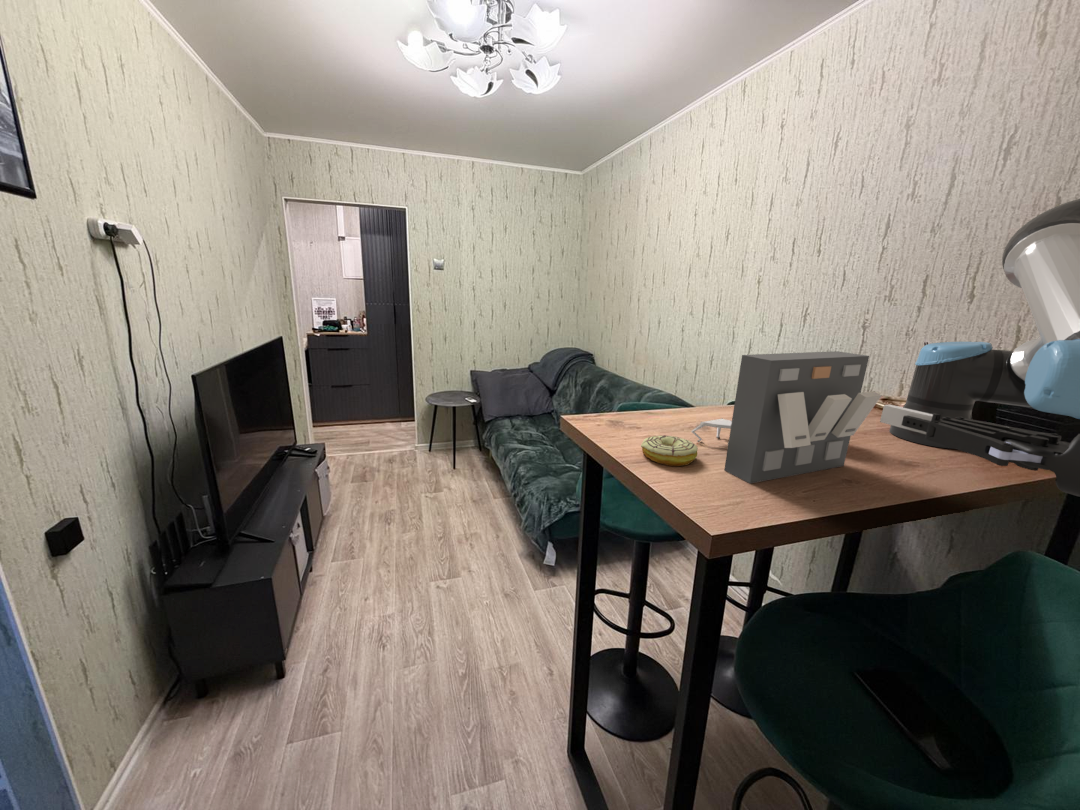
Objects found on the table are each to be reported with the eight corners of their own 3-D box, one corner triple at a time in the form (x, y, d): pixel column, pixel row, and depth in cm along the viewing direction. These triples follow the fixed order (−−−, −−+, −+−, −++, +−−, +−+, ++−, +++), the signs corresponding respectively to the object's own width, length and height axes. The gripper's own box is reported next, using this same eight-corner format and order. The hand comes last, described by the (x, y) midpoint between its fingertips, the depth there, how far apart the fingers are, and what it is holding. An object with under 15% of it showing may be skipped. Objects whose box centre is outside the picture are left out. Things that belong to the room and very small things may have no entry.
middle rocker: (825, 440, 78) (852, 399, 73) (808, 442, 77) (835, 400, 72) (818, 434, 79) (844, 394, 74) (801, 437, 78) (827, 395, 73)
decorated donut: (663, 445, 95) (665, 429, 94) (706, 461, 86) (709, 444, 85) (630, 454, 89) (632, 437, 88) (673, 472, 80) (675, 453, 79)
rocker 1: (811, 445, 72) (804, 391, 73) (793, 447, 71) (785, 393, 71) (803, 445, 74) (796, 392, 74) (784, 447, 72) (777, 394, 73)
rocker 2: (854, 435, 81) (882, 396, 76) (838, 438, 80) (866, 397, 75) (846, 430, 82) (874, 391, 77) (831, 432, 81) (858, 392, 76)
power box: (845, 466, 85) (871, 356, 80) (751, 484, 76) (773, 360, 70) (815, 455, 91) (837, 351, 85) (724, 470, 82) (742, 355, 76)
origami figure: (729, 435, 102) (732, 415, 101) (753, 447, 95) (756, 426, 93) (683, 437, 100) (686, 417, 99) (704, 450, 92) (707, 428, 91)
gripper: (1085, 515, 44) (851, 440, 65) (1137, 496, 49) (904, 432, 70) (1113, 446, 42) (863, 392, 63) (1164, 434, 47) (916, 387, 68)
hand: (885, 413), depth 67 cm, fingers closed
